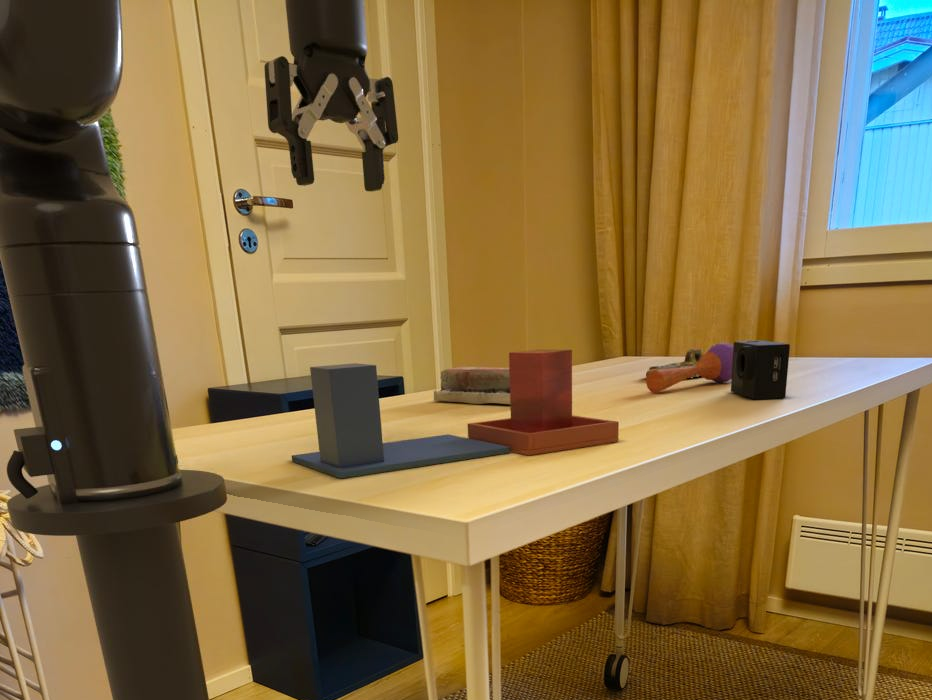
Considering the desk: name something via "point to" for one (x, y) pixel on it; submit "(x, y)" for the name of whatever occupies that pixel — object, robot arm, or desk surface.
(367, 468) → the blue mat
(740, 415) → the desk surface
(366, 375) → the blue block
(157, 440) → the robot arm
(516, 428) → the red block
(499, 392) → the weathered brick on slab
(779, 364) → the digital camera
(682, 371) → the orange and purple microphone
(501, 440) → the red tray
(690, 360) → the seal
